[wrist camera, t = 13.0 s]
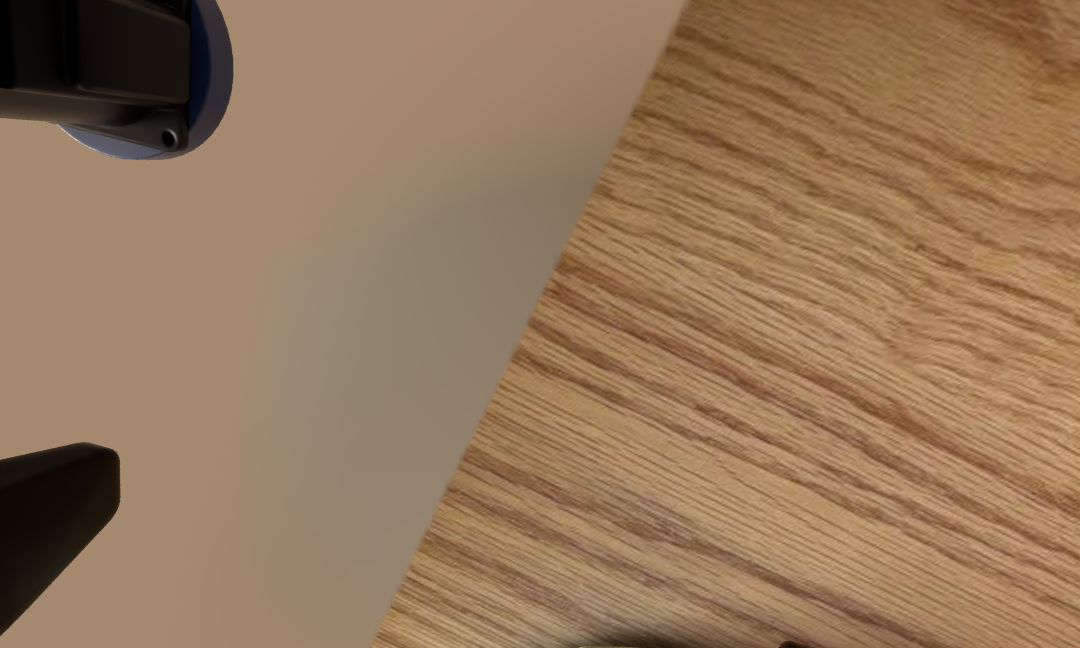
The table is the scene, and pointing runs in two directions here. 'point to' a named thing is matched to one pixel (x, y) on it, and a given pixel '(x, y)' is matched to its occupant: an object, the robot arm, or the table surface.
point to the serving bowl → (605, 647)
